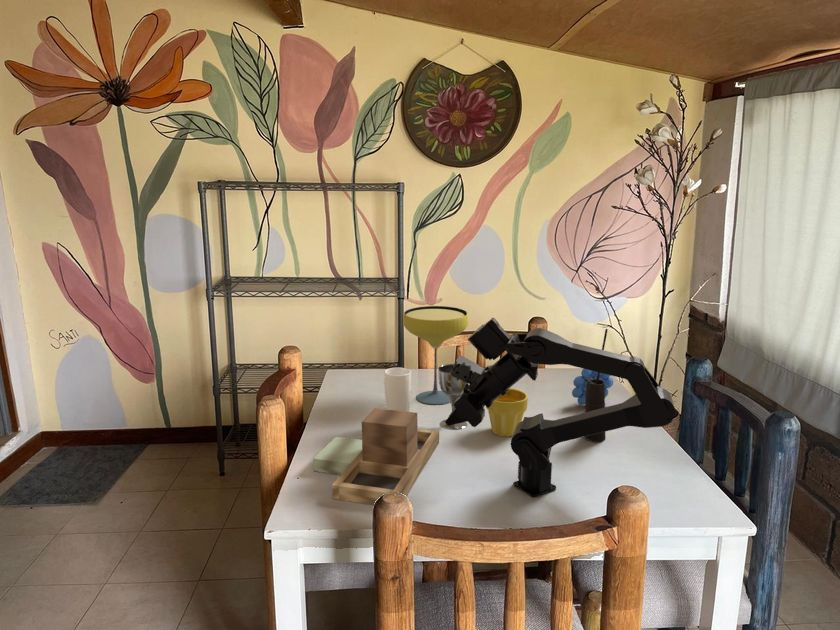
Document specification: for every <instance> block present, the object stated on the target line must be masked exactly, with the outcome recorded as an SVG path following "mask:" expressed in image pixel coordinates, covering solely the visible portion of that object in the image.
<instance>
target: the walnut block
mask: <svg viewBox="0 0 840 630" xmlns="http://www.w3.org/2000/svg"><path fill="white" fill-rule="evenodd" d="M417 429H418V412H414V411H409V412H405V411H396V410H387V408H375V407H374V408H373V409H372V410H371V411H370V412H369V413H368V414H367V416H365V418H364V419H362V421H361V440H362V458H363V461H369V462H376V463H384V464H391V465H399V466H408V464H409V463H410V461H411V460H412V458H413V457H414V455H415V454H416V452H417V451H418V443H417Z"/></svg>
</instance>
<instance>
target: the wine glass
mask: <svg viewBox="0 0 840 630" xmlns="http://www.w3.org/2000/svg"><path fill="white" fill-rule="evenodd" d="M454 364H455V363H446V364H442V365H440V366H439V367H437V368H438V369H437V370H438V372H437V376H438V377H437V378H438V384H439V387H440V391H442V392H443V393H444V394H445V395H446V396H447V398H448V399H449V400H450V406H451V412H452V411H453V410H454V408H455V407H454V405H453V403H454V402H455V400H456V399H457V397H458V396H459V394H460V395H461V394H462V393H463V392H464V387H465V385H466V384H468V383H466V382H464V381H462V380H460V379H458V378H457V377H453V376H452V375H451V374H450V372H451V370H452V368H453V366H454ZM468 385H469V384H468ZM447 419H448V418H446V419H443V420H440V422H439V426H440V427H441V428H443V429H446V430H452V431H455V430H462V429H465V428H467V426H468V422H463V423H458V424H454V425H450V426H448V425H447V424H446V423H445V421H446V420H447Z"/></svg>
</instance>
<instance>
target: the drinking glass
mask: <svg viewBox="0 0 840 630" xmlns="http://www.w3.org/2000/svg"><path fill="white" fill-rule="evenodd" d="M383 378H384V379H383V380H384V381H383V386H384V396H385V406H386V408H385V409H386V410H396V411H405V412H410V408H411V407H410V406H411V397H412V395H411V394H412V370H411V369H408V368H406V367H391V368H387V369H386V370H384V377H383Z"/></svg>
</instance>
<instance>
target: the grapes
mask: <svg viewBox="0 0 840 630" xmlns="http://www.w3.org/2000/svg"><path fill="white" fill-rule="evenodd" d="M597 374H598V372H595V371H591V370H587V369H583V368H582V370H581V374H580V375H578V376H576V377H575V378H574V379H573V381H572V382H573V386H574V388H573V389H572V391H571V395H572V397H573V398H576V399H577V400H576V401H577V404H578V405H580V406H583V405H584V406H585V398H586V385H587V381H585V378H588V379H589V380H596V379H597ZM599 380H603V381H604V382H605V399H606V398H607V397H608V395H609V390H608V389H611V387H613V385H614V379H613V378H612V377H611V375H607V374H603V373H600V375H599Z"/></svg>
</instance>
